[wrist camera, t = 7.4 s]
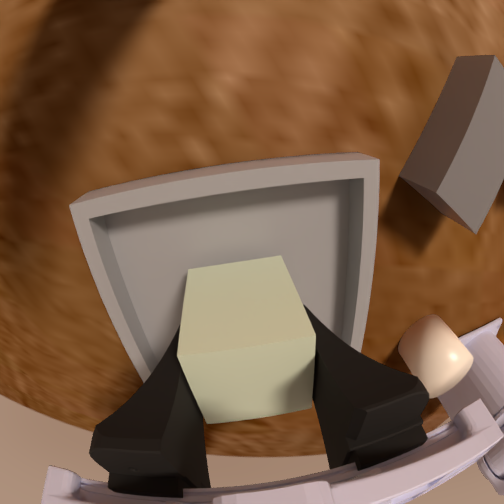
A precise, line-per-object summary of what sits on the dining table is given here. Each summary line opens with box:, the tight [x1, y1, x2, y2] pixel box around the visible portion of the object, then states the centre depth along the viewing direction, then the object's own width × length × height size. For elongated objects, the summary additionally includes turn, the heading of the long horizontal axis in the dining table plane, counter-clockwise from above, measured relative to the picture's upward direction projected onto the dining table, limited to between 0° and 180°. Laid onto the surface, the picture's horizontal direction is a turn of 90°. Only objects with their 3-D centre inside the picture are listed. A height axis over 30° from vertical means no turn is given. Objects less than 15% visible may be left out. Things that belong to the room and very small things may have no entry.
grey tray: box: [69, 152, 379, 382], centre depth 15 cm, size 14×14×2 cm
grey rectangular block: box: [399, 55, 504, 234], centre depth 12 cm, size 5×9×4 cm, turn 152°
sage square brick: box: [177, 255, 316, 424], centre depth 12 cm, size 4×4×6 cm
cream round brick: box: [398, 315, 474, 398], centre depth 18 cm, size 5×5×5 cm
